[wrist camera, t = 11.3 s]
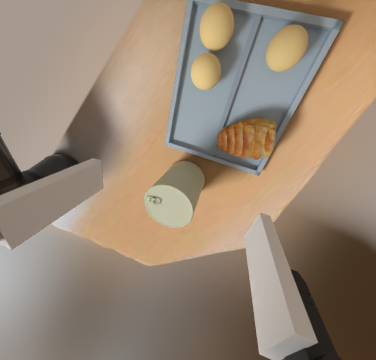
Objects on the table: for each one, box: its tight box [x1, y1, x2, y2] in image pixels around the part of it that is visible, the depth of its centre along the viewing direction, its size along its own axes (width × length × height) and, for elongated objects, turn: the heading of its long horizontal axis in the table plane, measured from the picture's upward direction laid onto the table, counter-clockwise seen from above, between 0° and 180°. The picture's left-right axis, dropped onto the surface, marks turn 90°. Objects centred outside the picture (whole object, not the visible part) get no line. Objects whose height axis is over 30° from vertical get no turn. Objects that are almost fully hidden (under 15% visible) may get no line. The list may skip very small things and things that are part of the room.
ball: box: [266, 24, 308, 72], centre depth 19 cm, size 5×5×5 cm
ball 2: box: [191, 53, 221, 90], centre depth 23 cm, size 5×5×5 cm
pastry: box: [217, 117, 277, 160], centre depth 25 cm, size 9×7×4 cm
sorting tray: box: [165, 0, 344, 176], centre depth 25 cm, size 20×22×2 cm
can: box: [144, 161, 205, 228], centre depth 30 cm, size 9×9×12 cm
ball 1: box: [200, 2, 234, 51], centre depth 20 cm, size 5×5×5 cm
